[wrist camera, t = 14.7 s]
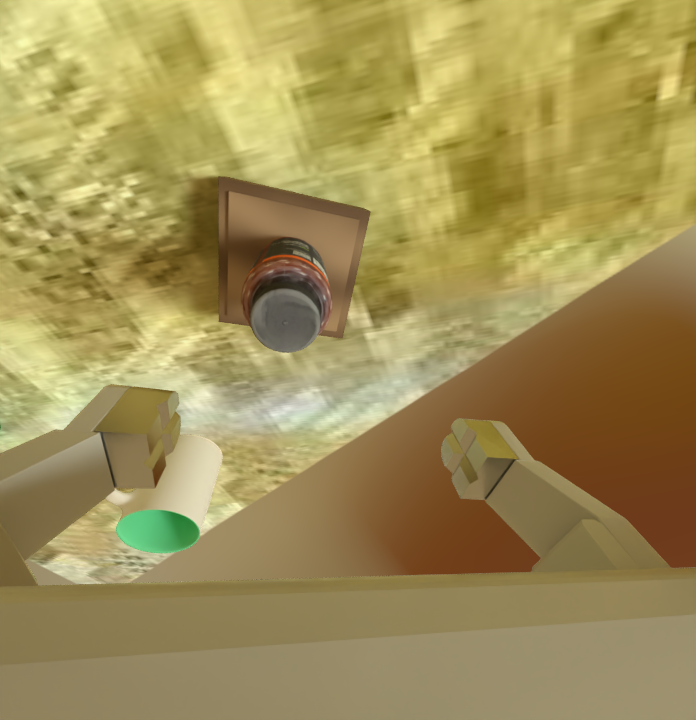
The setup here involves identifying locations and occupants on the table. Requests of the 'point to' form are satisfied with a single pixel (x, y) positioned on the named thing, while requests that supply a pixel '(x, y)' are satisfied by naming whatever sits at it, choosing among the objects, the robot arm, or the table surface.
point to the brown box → (286, 219)
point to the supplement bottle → (287, 295)
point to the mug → (171, 499)
